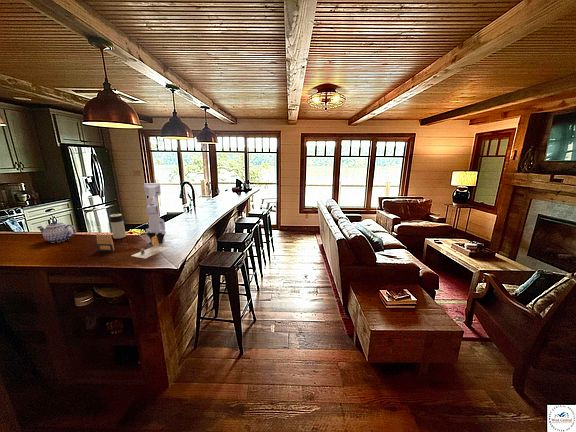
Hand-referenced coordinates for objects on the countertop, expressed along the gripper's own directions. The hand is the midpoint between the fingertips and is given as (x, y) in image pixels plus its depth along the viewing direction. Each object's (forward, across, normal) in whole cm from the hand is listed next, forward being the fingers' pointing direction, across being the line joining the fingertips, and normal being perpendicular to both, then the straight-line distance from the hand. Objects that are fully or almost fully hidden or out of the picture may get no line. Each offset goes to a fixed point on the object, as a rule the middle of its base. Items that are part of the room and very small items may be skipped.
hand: (157, 243), depth 150 cm
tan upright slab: (+7, -34, -10) cm, 36 cm away
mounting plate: (+6, -2, -4) cm, 8 cm away
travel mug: (+7, -52, +12) cm, 54 cm away
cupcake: (+1, 0, 0) cm, 1 cm away
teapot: (+7, -87, -8) cm, 88 cm away
